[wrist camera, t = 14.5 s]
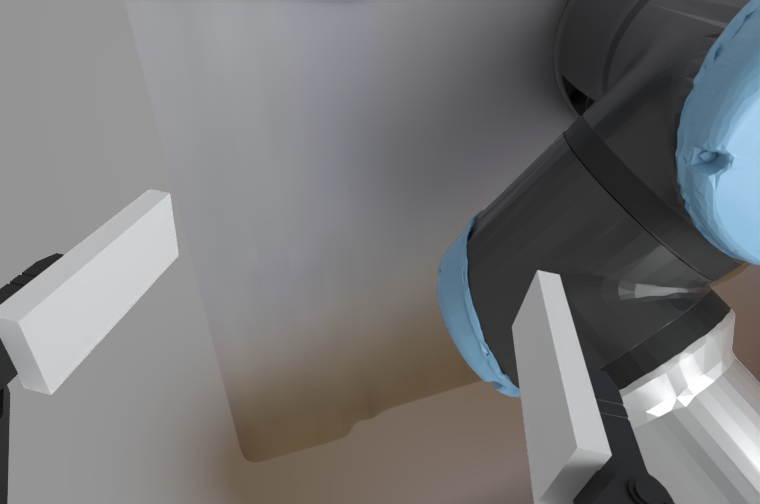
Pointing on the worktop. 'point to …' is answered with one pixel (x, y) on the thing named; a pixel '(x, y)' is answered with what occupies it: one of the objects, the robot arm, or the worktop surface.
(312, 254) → the worktop surface
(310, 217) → the worktop surface
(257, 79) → the worktop surface
